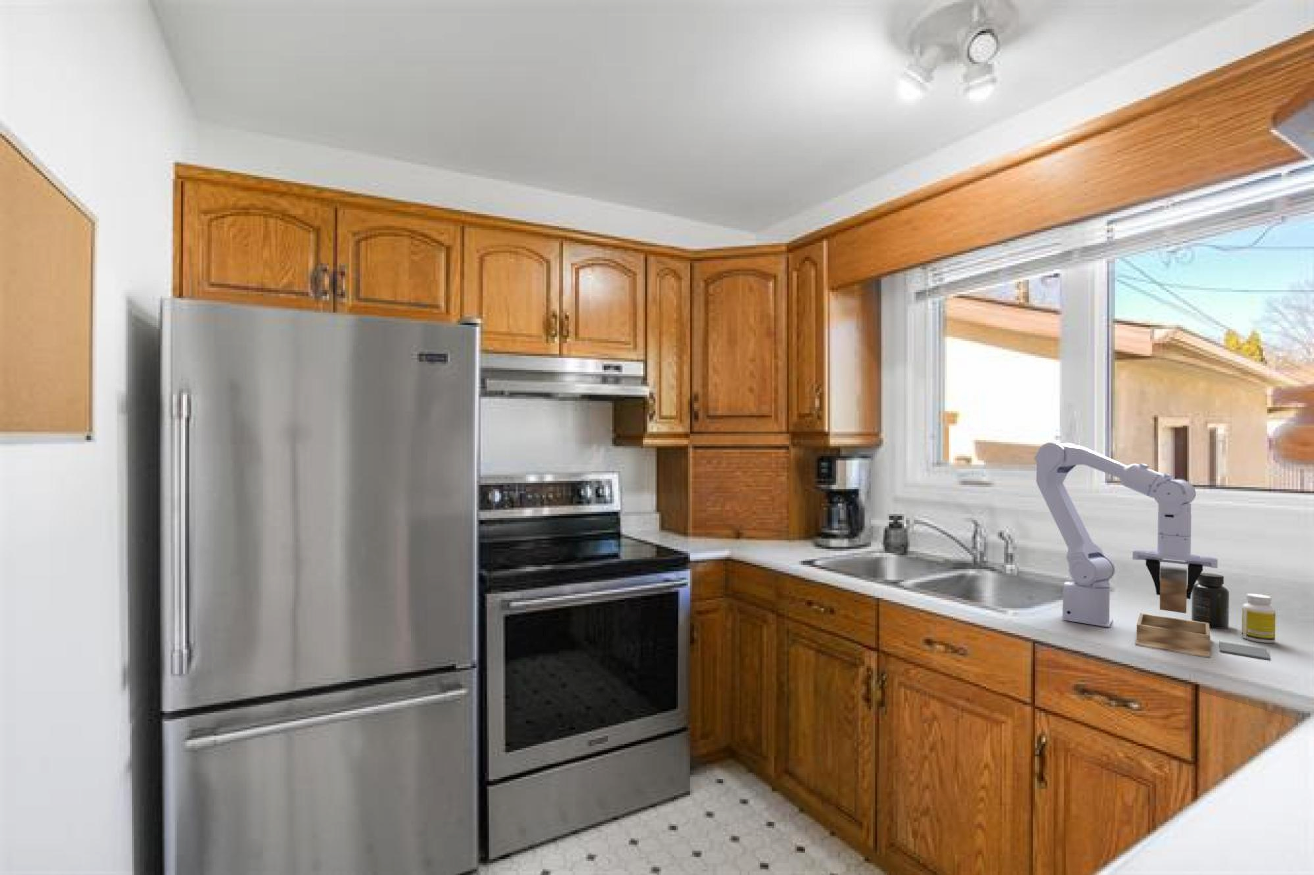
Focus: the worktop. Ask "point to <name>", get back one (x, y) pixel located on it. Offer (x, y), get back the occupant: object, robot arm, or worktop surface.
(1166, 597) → the block
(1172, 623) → the wooden tray
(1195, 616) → the supplement bottle
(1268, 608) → the supplement bottle
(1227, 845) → the worktop surface
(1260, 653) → the pad
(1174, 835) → the worktop surface
